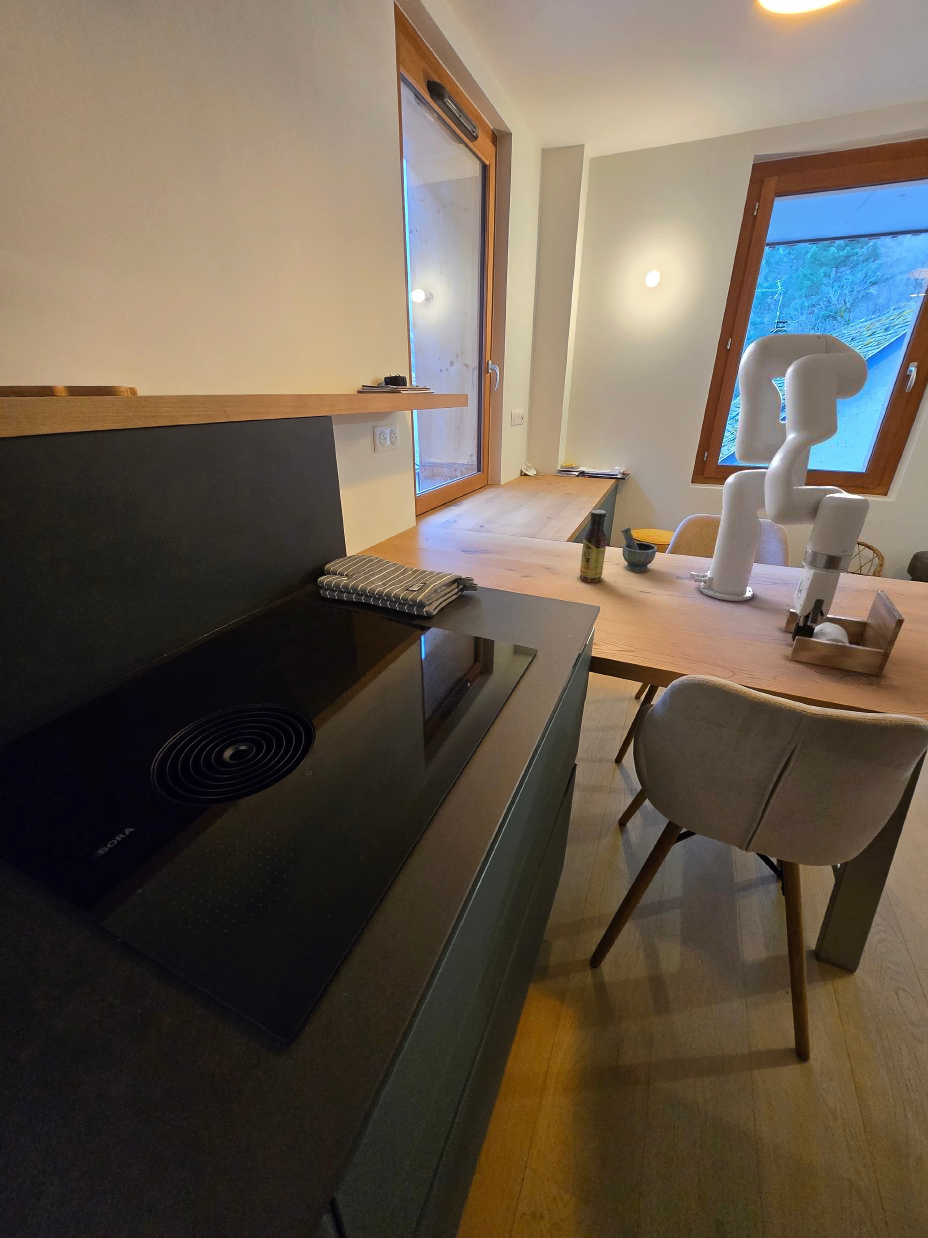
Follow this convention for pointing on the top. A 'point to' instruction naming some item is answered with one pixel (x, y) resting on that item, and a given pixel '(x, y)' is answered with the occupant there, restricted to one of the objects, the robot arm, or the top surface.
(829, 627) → the roll
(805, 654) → the u-shaped wooden enclosure
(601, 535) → the sauce bottle
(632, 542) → the mortar and pestle
